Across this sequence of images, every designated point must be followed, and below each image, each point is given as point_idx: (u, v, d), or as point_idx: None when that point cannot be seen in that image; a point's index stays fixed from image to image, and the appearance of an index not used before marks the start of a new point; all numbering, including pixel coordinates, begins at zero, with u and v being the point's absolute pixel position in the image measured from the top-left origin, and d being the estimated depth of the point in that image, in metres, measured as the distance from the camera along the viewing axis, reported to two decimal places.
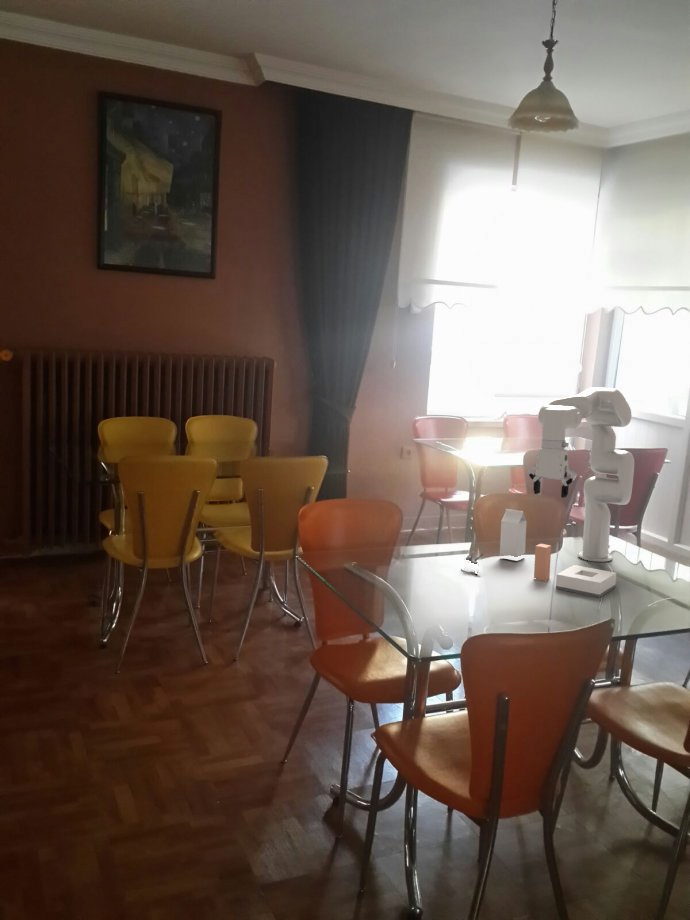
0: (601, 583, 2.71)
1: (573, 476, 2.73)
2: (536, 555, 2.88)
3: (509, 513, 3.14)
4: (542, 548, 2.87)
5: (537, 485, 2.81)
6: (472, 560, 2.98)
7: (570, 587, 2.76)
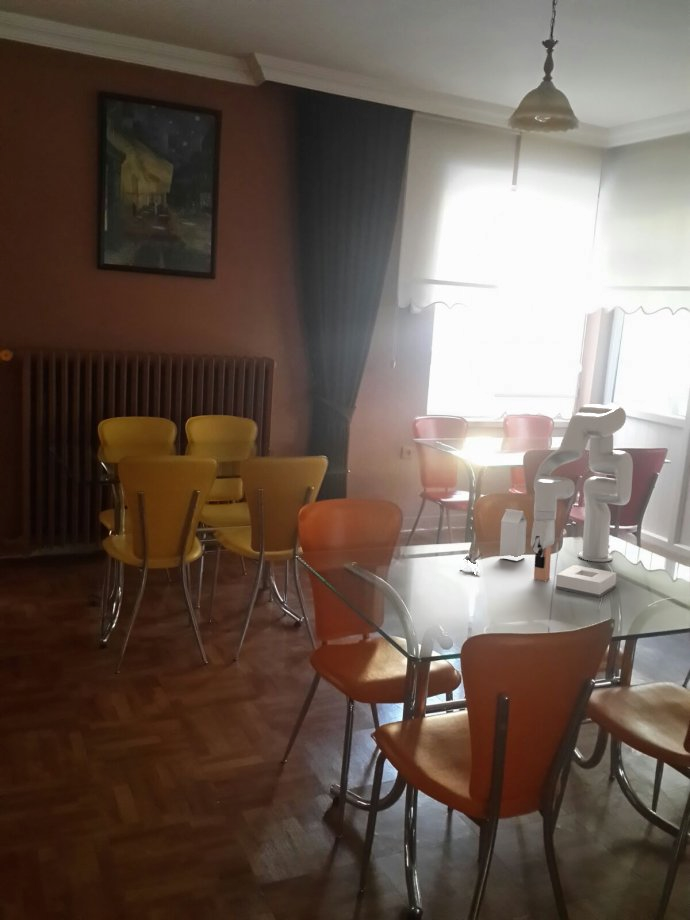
0: (601, 583, 2.71)
1: None
2: None
3: (509, 513, 3.14)
4: None
5: None
6: (471, 560, 2.98)
7: (570, 587, 2.76)
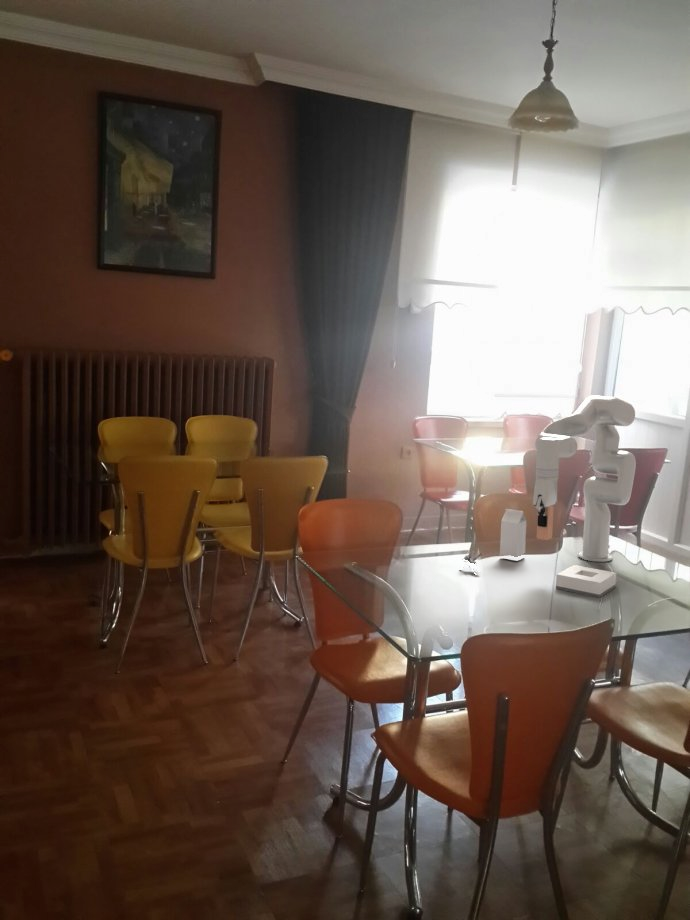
0: (601, 583, 2.71)
1: None
2: None
3: (509, 513, 3.14)
4: None
5: None
6: (470, 560, 2.98)
7: (570, 587, 2.76)
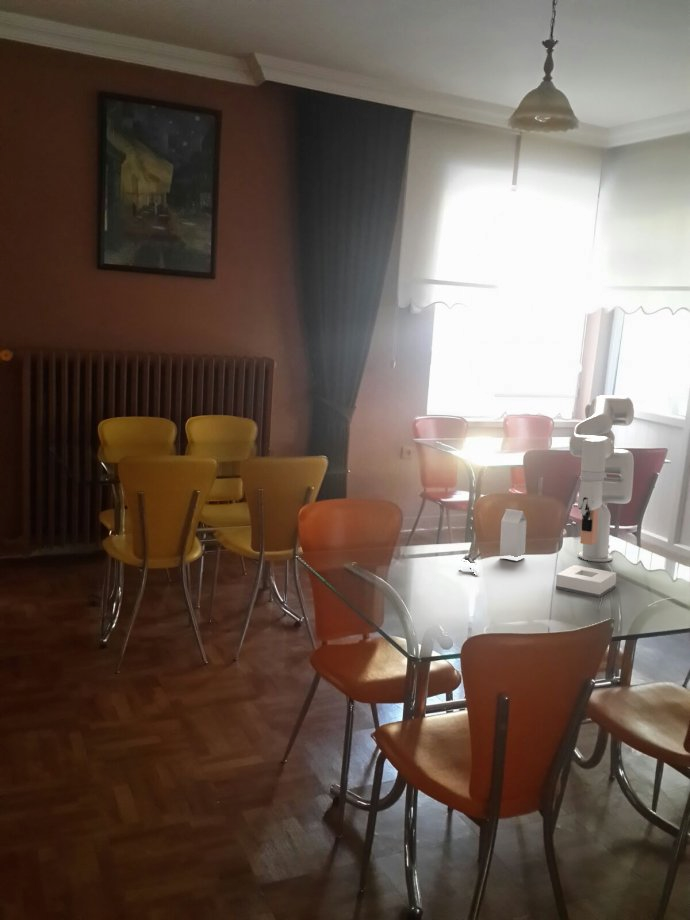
0: (601, 583, 2.71)
1: None
2: None
3: (509, 513, 3.14)
4: None
5: None
6: (470, 560, 2.98)
7: (570, 587, 2.76)
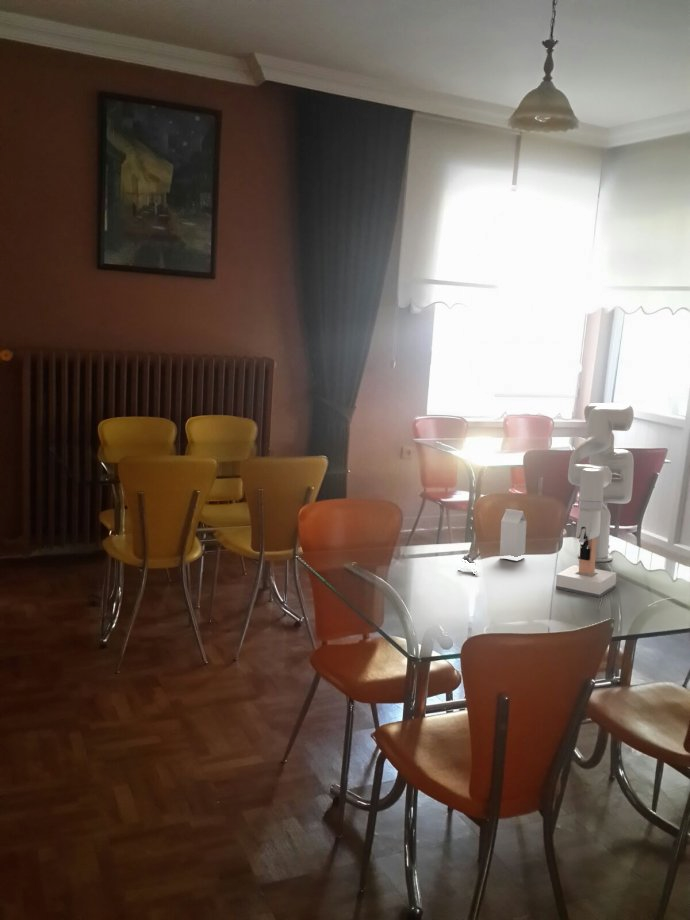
0: (601, 583, 2.71)
1: None
2: None
3: (509, 513, 3.14)
4: None
5: None
6: (469, 560, 2.98)
7: (570, 587, 2.76)
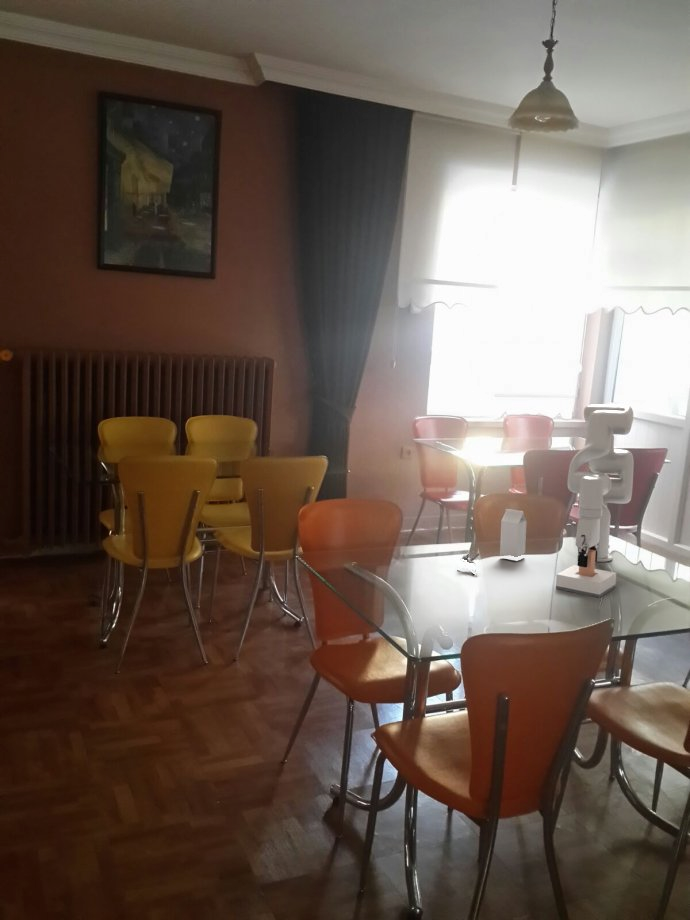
0: (601, 583, 2.71)
1: None
2: None
3: (509, 513, 3.14)
4: (587, 553, 2.77)
5: None
6: (468, 560, 2.98)
7: (570, 587, 2.76)
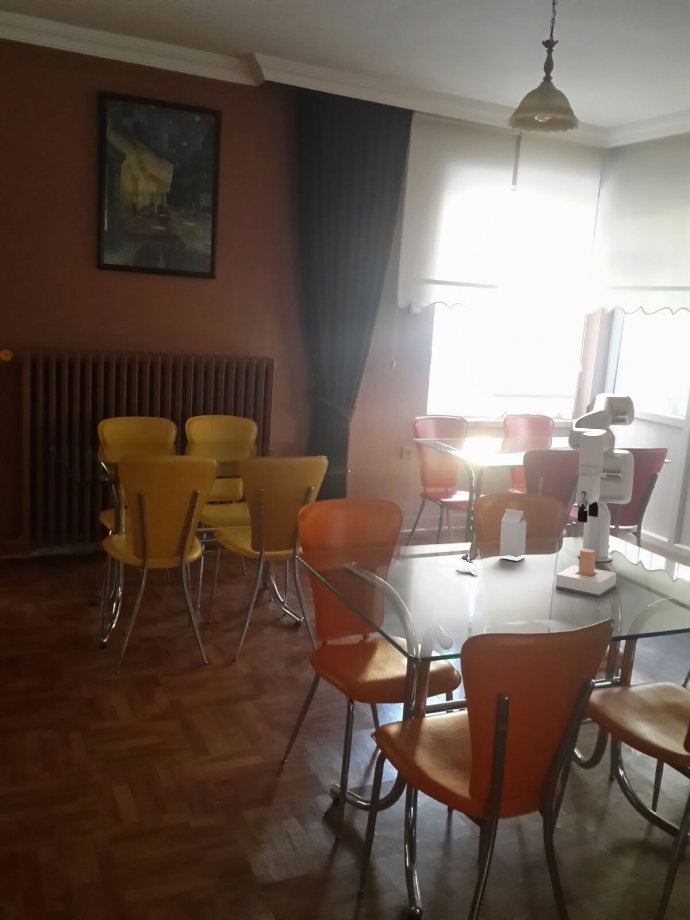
0: (601, 583, 2.71)
1: None
2: (580, 560, 2.79)
3: (509, 513, 3.14)
4: (587, 553, 2.77)
5: None
6: (467, 560, 2.98)
7: (570, 587, 2.76)
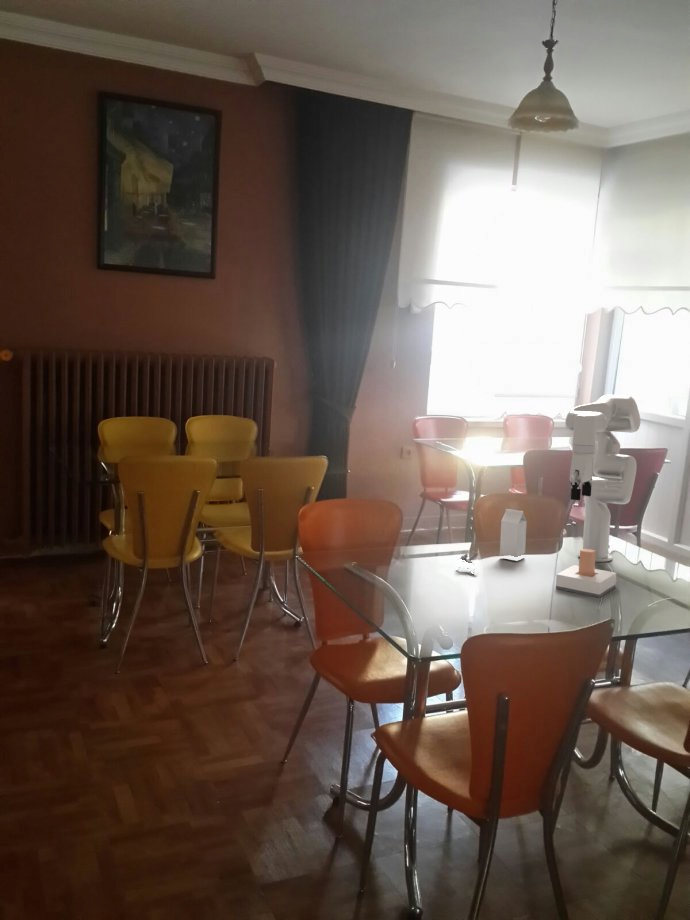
0: (601, 583, 2.71)
1: None
2: (580, 560, 2.79)
3: (509, 513, 3.14)
4: (587, 553, 2.77)
5: None
6: (467, 560, 2.98)
7: (570, 587, 2.76)
